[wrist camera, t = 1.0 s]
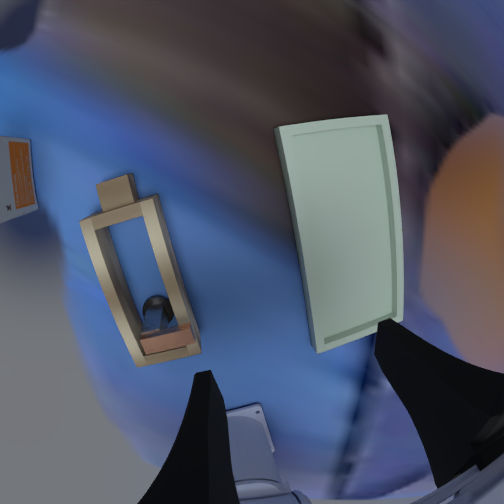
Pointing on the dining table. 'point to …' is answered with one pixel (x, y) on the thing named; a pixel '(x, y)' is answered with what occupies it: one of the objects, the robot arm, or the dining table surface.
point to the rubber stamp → (162, 327)
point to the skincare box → (16, 178)
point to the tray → (345, 224)
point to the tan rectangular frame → (110, 273)
